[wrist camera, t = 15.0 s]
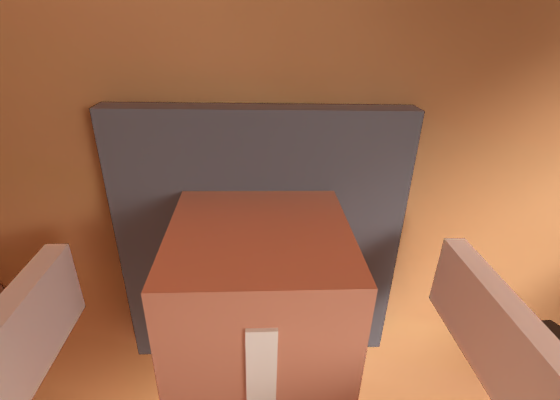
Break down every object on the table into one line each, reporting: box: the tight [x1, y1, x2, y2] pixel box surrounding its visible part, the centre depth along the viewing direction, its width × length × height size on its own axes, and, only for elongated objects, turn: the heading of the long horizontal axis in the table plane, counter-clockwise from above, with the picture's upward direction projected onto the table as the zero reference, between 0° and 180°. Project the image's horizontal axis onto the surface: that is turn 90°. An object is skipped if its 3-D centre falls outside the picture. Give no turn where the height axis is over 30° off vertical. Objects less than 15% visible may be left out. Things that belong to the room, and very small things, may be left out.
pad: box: [89, 102, 425, 354], centre depth 15 cm, size 11×11×1 cm
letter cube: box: [141, 191, 378, 400], centre depth 12 cm, size 6×6×6 cm
